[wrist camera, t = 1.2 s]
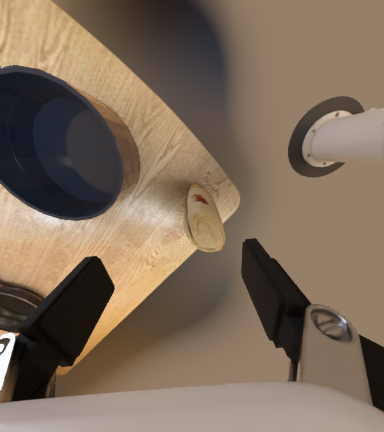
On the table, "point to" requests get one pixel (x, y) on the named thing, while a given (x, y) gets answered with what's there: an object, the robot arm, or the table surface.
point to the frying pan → (15, 307)
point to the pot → (62, 147)
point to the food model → (203, 220)
